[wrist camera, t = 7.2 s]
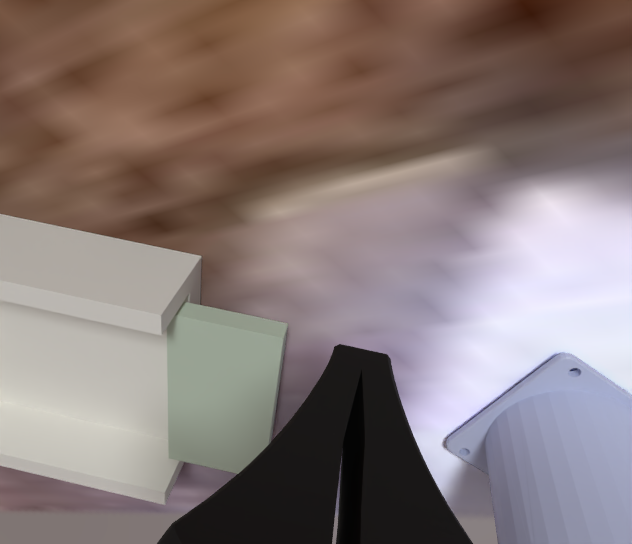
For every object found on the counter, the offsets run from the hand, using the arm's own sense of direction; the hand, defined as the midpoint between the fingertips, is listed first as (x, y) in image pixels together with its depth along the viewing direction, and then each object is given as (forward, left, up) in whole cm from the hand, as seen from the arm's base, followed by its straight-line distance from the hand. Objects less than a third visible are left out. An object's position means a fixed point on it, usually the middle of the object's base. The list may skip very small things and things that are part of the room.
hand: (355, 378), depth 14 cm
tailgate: (+3, +12, -8) cm, 14 cm away
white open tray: (+8, +14, -9) cm, 19 cm away
